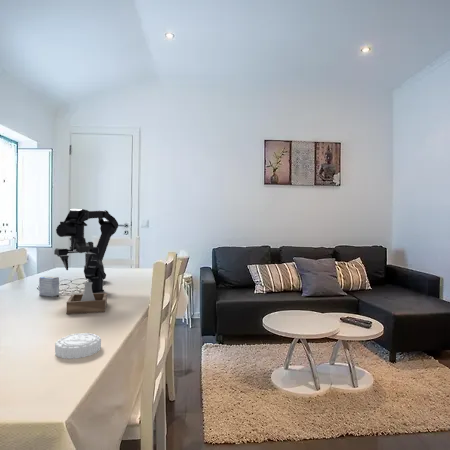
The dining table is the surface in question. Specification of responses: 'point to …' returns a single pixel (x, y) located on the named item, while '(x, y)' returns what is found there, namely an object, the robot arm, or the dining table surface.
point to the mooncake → (77, 345)
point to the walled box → (86, 304)
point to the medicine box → (49, 286)
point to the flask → (88, 292)
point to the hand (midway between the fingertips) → (77, 269)
